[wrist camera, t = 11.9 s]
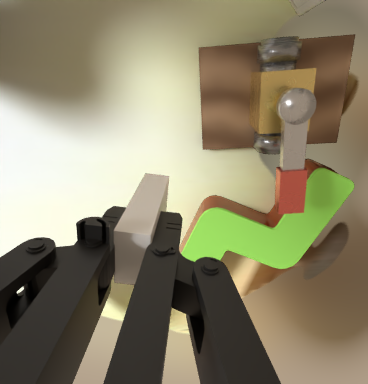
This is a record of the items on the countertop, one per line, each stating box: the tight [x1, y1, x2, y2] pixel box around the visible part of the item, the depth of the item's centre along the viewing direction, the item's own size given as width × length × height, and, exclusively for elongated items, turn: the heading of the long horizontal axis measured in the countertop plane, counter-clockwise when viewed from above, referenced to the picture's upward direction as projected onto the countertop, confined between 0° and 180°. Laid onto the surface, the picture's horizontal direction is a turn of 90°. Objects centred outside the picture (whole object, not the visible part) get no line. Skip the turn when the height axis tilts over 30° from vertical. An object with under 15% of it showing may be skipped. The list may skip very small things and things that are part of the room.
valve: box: [249, 37, 317, 154], centre depth 33 cm, size 14×6×10 cm, turn 4°
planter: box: [179, 159, 354, 269], centre depth 45 cm, size 30×18×6 cm, turn 157°
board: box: [199, 35, 355, 149], centre depth 38 cm, size 14×20×2 cm
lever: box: [275, 88, 316, 214], centre depth 30 cm, size 14×4×2 cm, turn 6°
